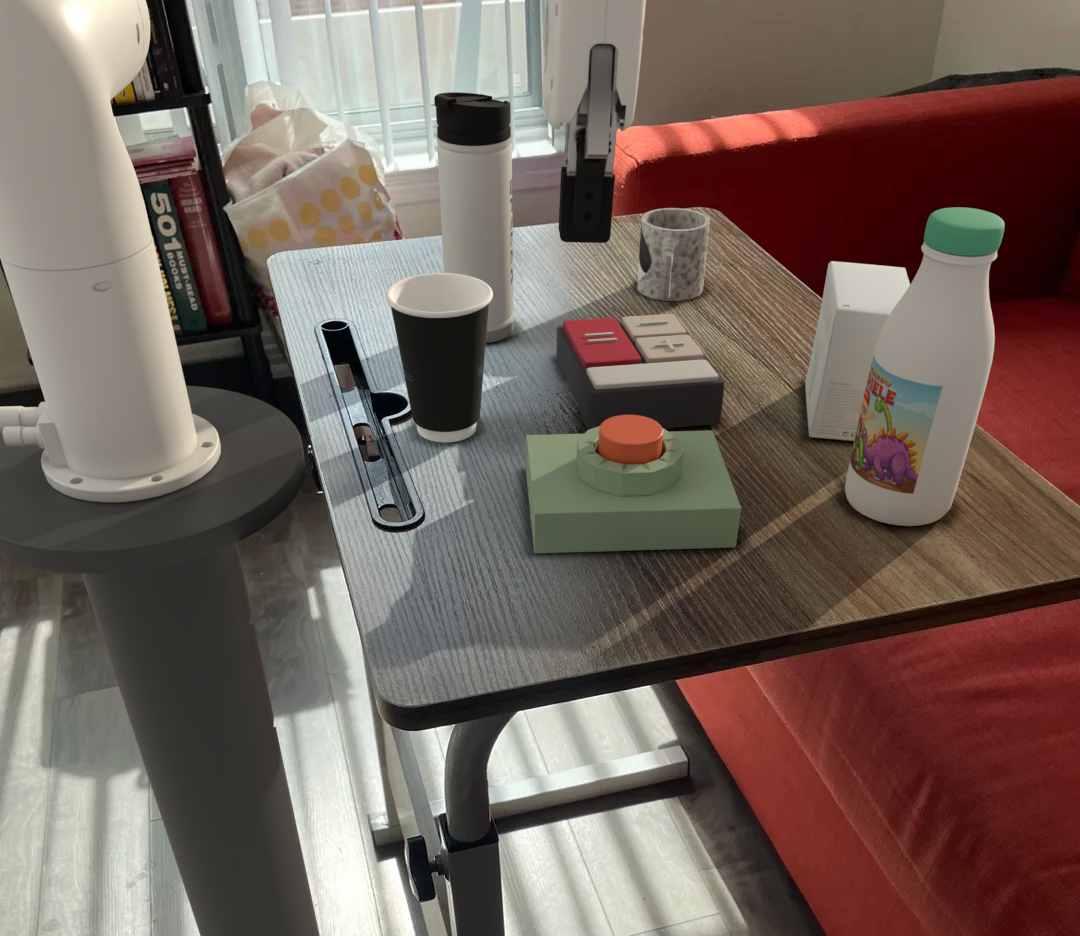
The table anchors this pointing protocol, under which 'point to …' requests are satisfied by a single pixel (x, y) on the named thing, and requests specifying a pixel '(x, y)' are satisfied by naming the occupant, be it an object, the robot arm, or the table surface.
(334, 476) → the table surface
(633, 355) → the calculator
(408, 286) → the dixie cup
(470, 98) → the travel mug
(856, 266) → the cosmetics box
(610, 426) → the push button
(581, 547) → the button housing
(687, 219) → the mug
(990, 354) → the milk bottle
